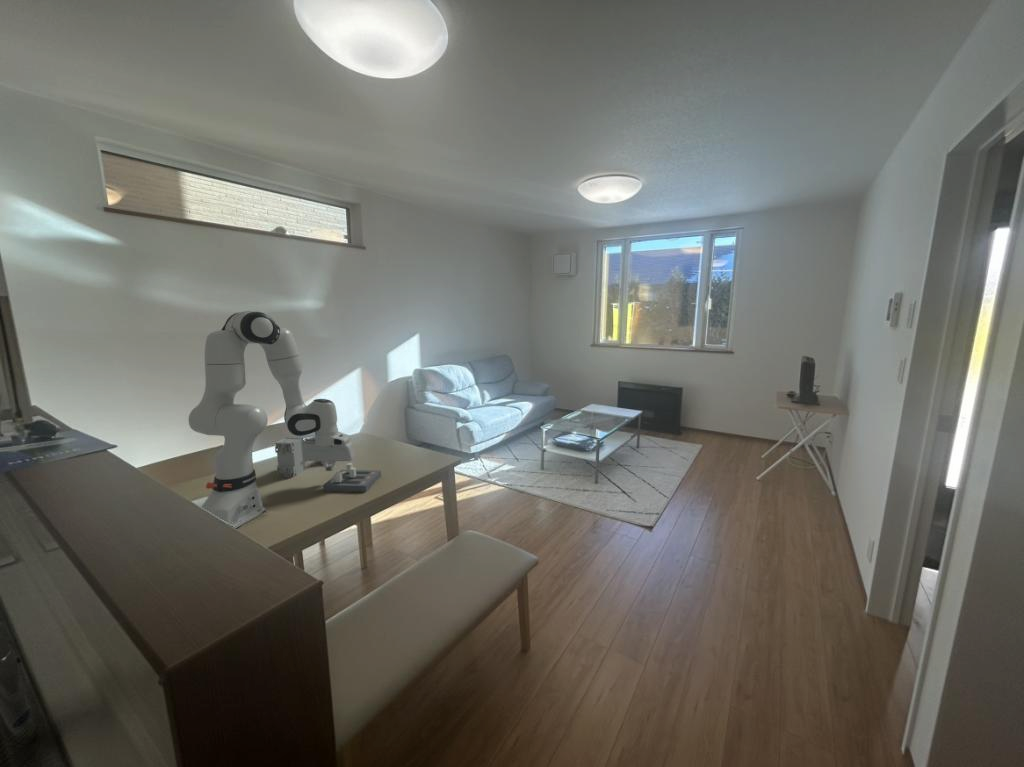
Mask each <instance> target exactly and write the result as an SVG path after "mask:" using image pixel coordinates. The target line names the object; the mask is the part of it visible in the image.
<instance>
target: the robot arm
mask: <svg viewBox="0 0 1024 767" xmlns="http://www.w3.org/2000/svg"><path fill="white" fill-rule="evenodd" d="M249 344H259V345H260V346H261V348H262V349H263V351H264V353H265V358H266V362H267V365H268V368H269V370H270V373H271V374H272V376H273V378H274V379H275V381H277V383H278V384H279V386H280V388H281V391H282V396H283V398H284V402H285V410H284V416H283V420H284V422H285V424H286V427H287V430H288V431H289V433H290V434H292V435H294V436H297V437H302V436H303V437H304V436H307V435H310V434H314V437H306V438H303V441H302V447H303V451H302V457H303V459H304V461H307V462H319V461H322V463H321V464H322V466H323V467H324V469H325V472H334V470H335V466H336V463H337V462H351V461H352V460H353V459H354V458H355V456H356V455H355V449H354V445H353V442H351V440H352V436H351V435H350V434H347V433H343V432H341V431H339V427H338V426H337V425H338V424H337V422H338V414H337V409H336V405H335V403H334V402H333V401H332V400H330V399H327V398H316V399H313V401H312V402H310V403H309V404H307V405H306V404H305V402H304V400H303V396H302V391H301V388H300V377H301V374H303V373H302V372H303V371H302V370H303V368H302V367H303V366H302V358H301V353H300V350H299V347H298V344H297V341H296V338H295V336H294V335H293V333H292V331H291V330H290V329H288V328H285V327H283V326H282V327H281V326H279V325H278V324H277V323H276V322H275V320H274V319H273V318H272V317H271V316H270V315H268V314H266V313H264V312H260V311H250V310H248V311H247V310H245V311H241V312H236V313H233V314H231V315H230V316H229V317H228V318H227V320H226V321H225V323H224V325H223V327H222V328H221V330H215V331H212V332H209V334H208V335H207V337H206V340H205V344H204V370H205V371H204V372H205V373H204V374H205V377H204V378H205V386H204V387H205V388H204V392H203V395H202V398H201V400H200V401H199V404H198V405H196V406H195V407H194V408H192V410H191V411H190V413H189V416H188V426H189V427H190V429H192V431H193V432H196V433H199V434H202V435H205V436H206V435H207V436H218V437H219V436H220V437H221V436H222V437H224V443H223V445H222V447H221V448H219V449H218V450H216V451H215V452H214V455H213V465H214V466H213V467H214V472H215V474H214V475H215V476H214V477H213V482H206V485H205V488H206V489H212V491H211V492H210V494H209V495H208V497H207V499H206V500H205V501H204V503H203V504H202V505H201V507H202V508H204V509H205V510H207V511H209V512H211V513H212V514H214V515H215V516H217V517H219V518H220V519H222V520H224V521H226V522H227V523H229V524H230V525H232V526H233V527H234V528H235V529H237V528H239V527H241V526H242V525H244V524H246V523H248V522H250V521H251V520H253V519H254V518H257V517H259V516H260V515H262V514H264V513H265V512H266V507H265V506H263V505H264V504H263V501H262V497H261V492H260V489H259V487H258V486H257V482H256V480H257V474H256V470H255V469H254V463H253V460H254V459H253V447H254V443H255V441H256V439H257V438H258V436H259V435H260V434H262V433H263V432H264V431H265V429H266V428H267V425H268V421H269V420H268V414H267V413H266V410H264V409H263V407H259V406H255V405H251V404H241V403H237V404H236V403H234V401H235V400H234V399H235V397H236V394H237V393H238V392H240V391H242V390H243V389H244V388H245V386H246V383H247V381H246V379H247V378H246V366H245V355H244V354H245V351H246V350H245V349H246V347H247V346H248V345H249ZM327 461H331V464H327ZM232 522H235V523H234V524H232Z"/></svg>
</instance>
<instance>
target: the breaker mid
mask: <svg viewBox="0 0 1024 767" xmlns="http://www.w3.org/2000/svg"><path fill="white" fill-rule="evenodd" d="M356 470H357V467H353V468H350V469H349V471H350V478H354V477H355V476H356Z"/></svg>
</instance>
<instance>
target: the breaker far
mask: <svg viewBox="0 0 1024 767" xmlns="http://www.w3.org/2000/svg"><path fill="white" fill-rule="evenodd" d="M345 467H346V470H347V473H350V471H349V469H350V468H354V464H353V462H348V463H346V466H345Z"/></svg>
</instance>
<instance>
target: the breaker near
mask: <svg viewBox="0 0 1024 767" xmlns="http://www.w3.org/2000/svg"><path fill="white" fill-rule="evenodd" d="M334 476H335V480H336V482H341V481H342V472H340V471H336V472H335V473H334Z"/></svg>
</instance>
